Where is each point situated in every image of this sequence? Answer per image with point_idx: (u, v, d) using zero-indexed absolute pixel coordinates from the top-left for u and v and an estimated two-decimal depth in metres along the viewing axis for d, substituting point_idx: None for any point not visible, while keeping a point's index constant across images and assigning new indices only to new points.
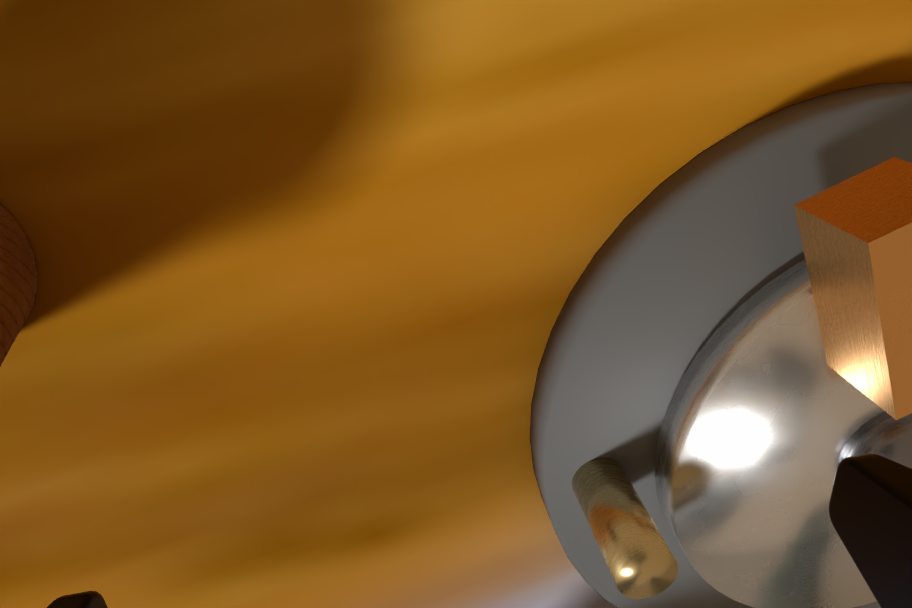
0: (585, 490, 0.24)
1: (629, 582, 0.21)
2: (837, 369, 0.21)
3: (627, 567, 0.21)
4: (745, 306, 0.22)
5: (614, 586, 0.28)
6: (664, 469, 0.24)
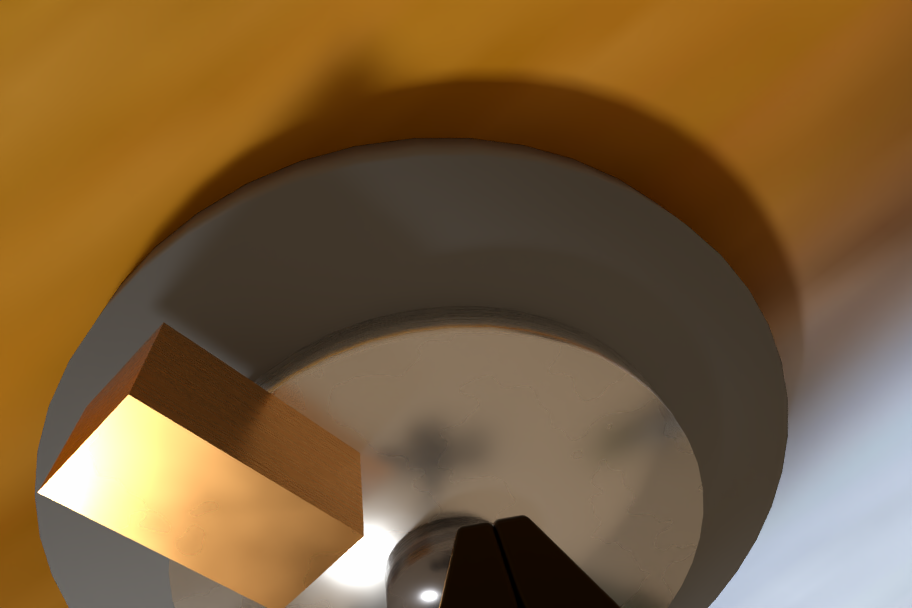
0: None
1: None
2: None
3: None
4: None
5: None
6: None
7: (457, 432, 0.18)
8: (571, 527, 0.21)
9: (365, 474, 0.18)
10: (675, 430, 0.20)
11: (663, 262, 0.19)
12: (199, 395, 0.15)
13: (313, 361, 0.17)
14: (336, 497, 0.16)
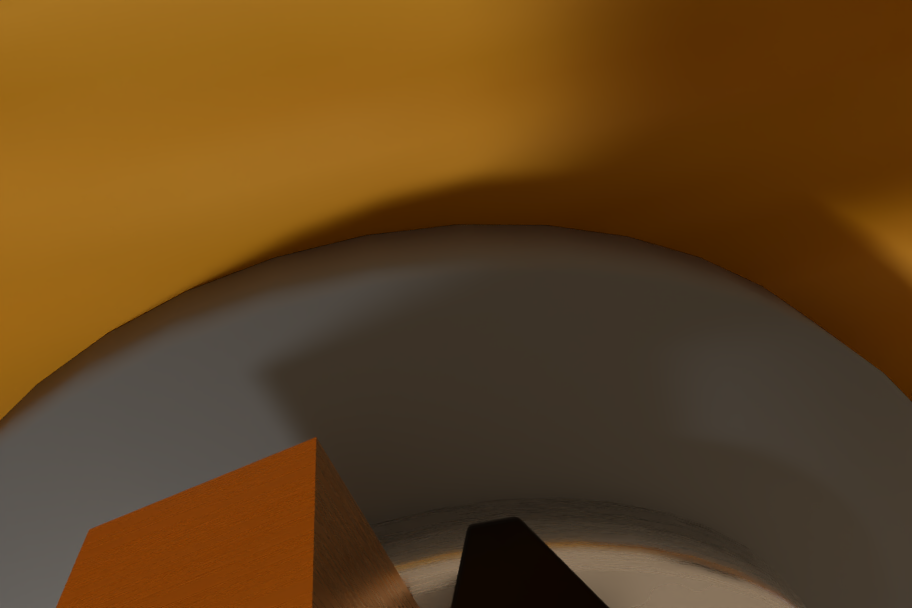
0: None
1: None
2: None
3: None
4: None
5: None
6: None
7: None
8: None
9: None
10: None
11: None
12: None
13: None
14: None
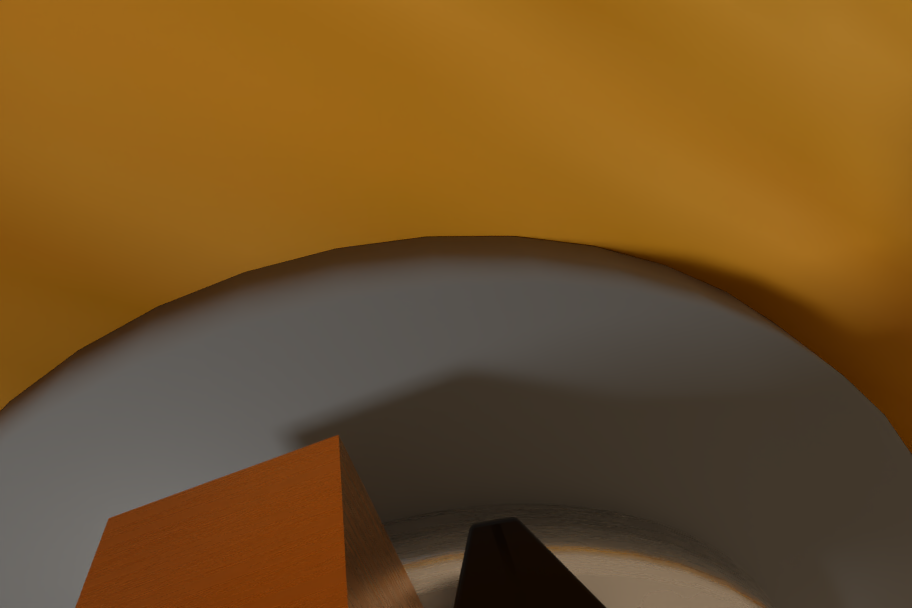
0: None
1: None
2: None
3: None
4: None
5: None
6: None
7: None
8: None
9: None
10: None
11: None
12: None
13: None
14: None
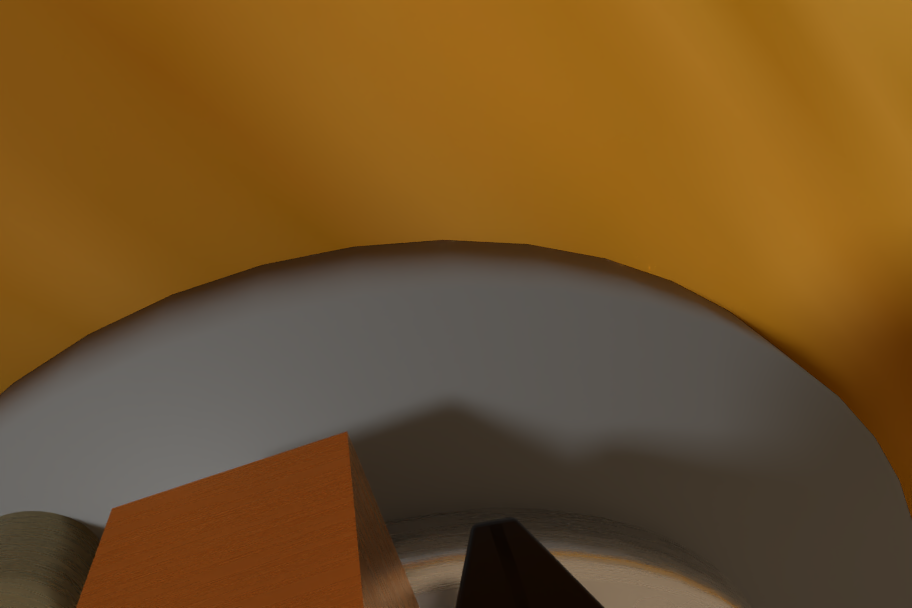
0: None
1: None
2: None
3: None
4: None
5: None
6: None
7: None
8: None
9: None
10: None
11: None
12: None
13: None
14: None
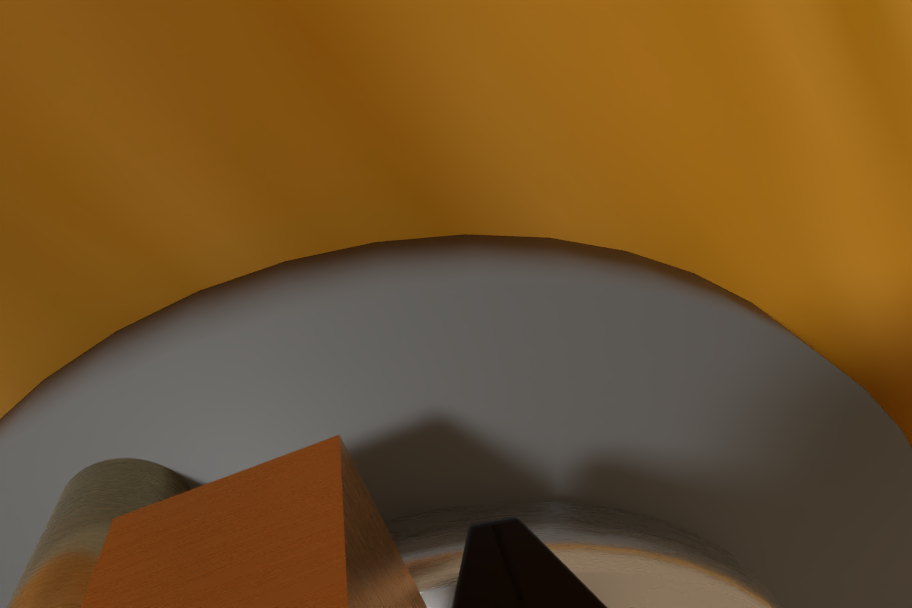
0: (107, 504, 0.10)
1: None
2: None
3: None
4: None
5: None
6: None
7: None
8: None
9: None
10: None
11: None
12: None
13: None
14: None
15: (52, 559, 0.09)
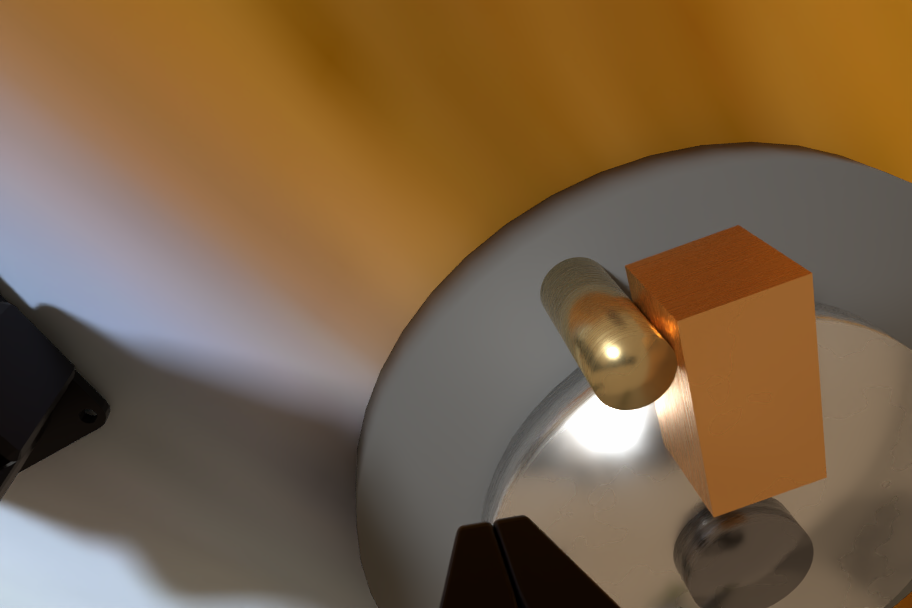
0: (593, 271, 0.18)
1: (621, 357, 0.15)
2: (670, 450, 0.19)
3: (645, 340, 0.15)
4: None
5: (410, 404, 0.20)
6: None
7: (832, 425, 0.20)
8: (833, 545, 0.23)
9: None
10: None
11: None
12: None
13: None
14: None
15: (587, 288, 0.17)
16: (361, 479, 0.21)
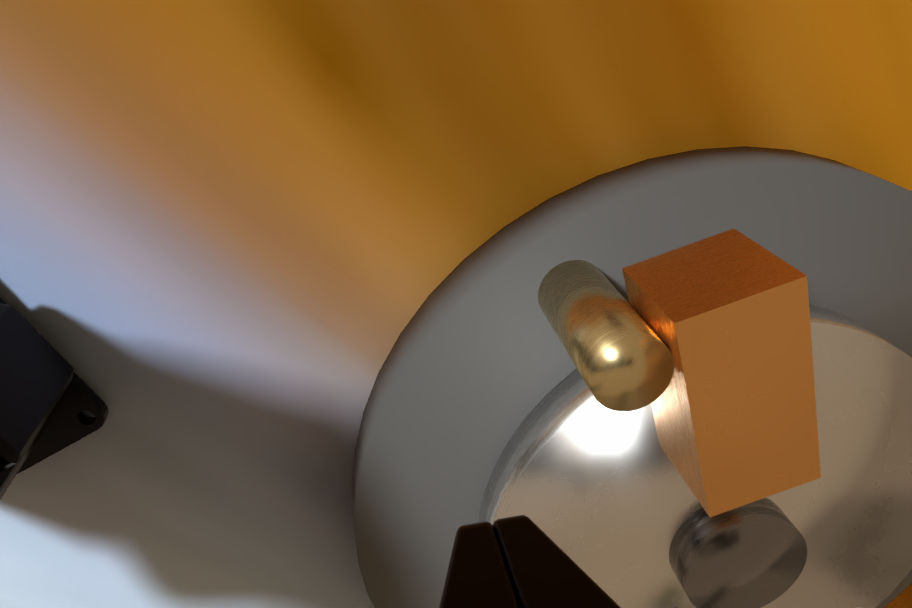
0: (591, 274, 0.18)
1: (619, 359, 0.15)
2: (666, 451, 0.19)
3: (643, 342, 0.15)
4: None
5: (408, 405, 0.20)
6: None
7: (826, 426, 0.21)
8: (826, 545, 0.23)
9: None
10: None
11: None
12: None
13: None
14: None
15: (585, 291, 0.17)
16: (359, 480, 0.21)
